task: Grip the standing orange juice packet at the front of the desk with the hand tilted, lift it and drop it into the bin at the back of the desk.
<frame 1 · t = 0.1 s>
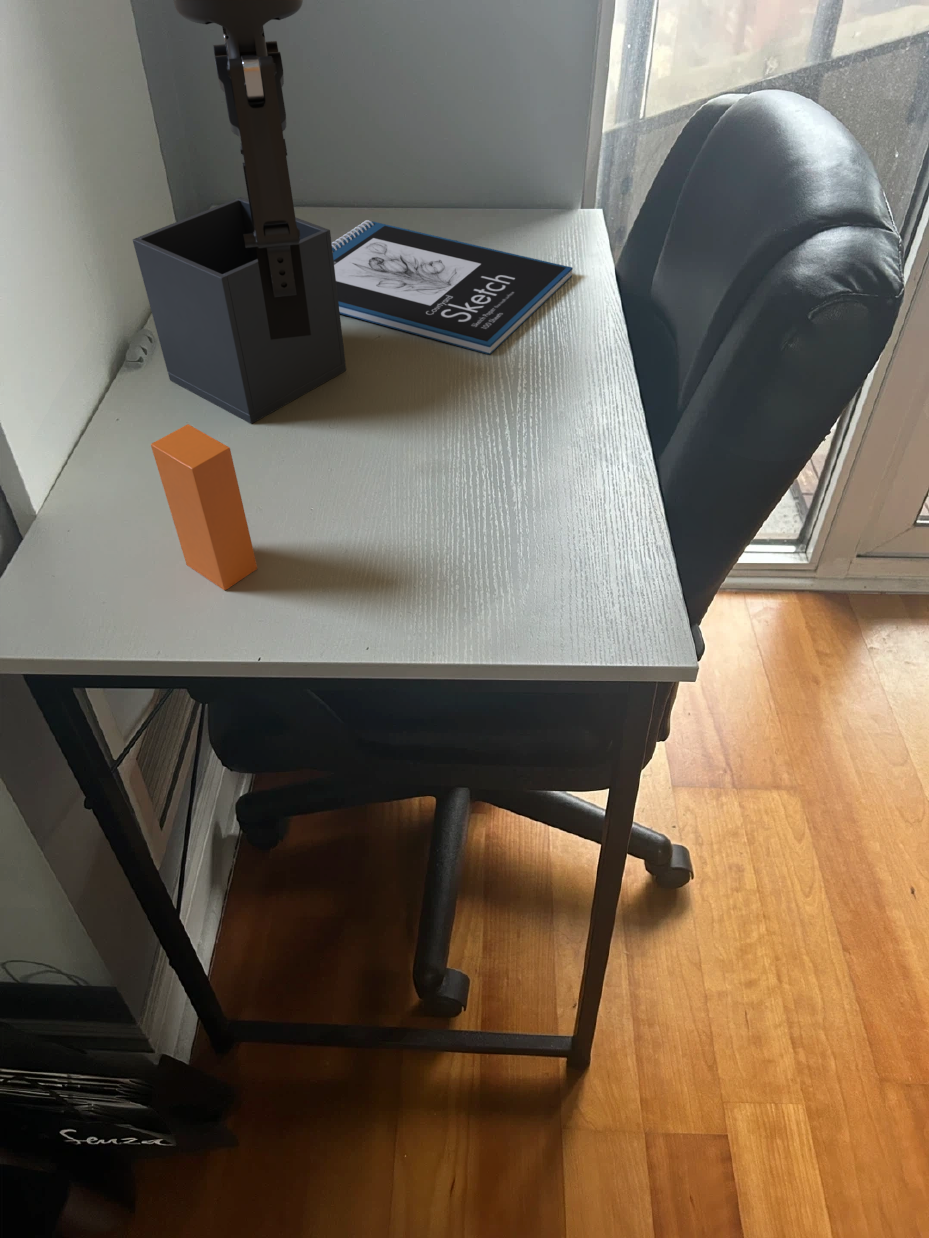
hand: (282, 290, 68), 21 cm above the table, tool pointing down, fingers open, 13 cm apart
bin: (258, 375, 100), on the table
sketchbook: (422, 288, 114), on the table
packet: (221, 567, 78), on the table
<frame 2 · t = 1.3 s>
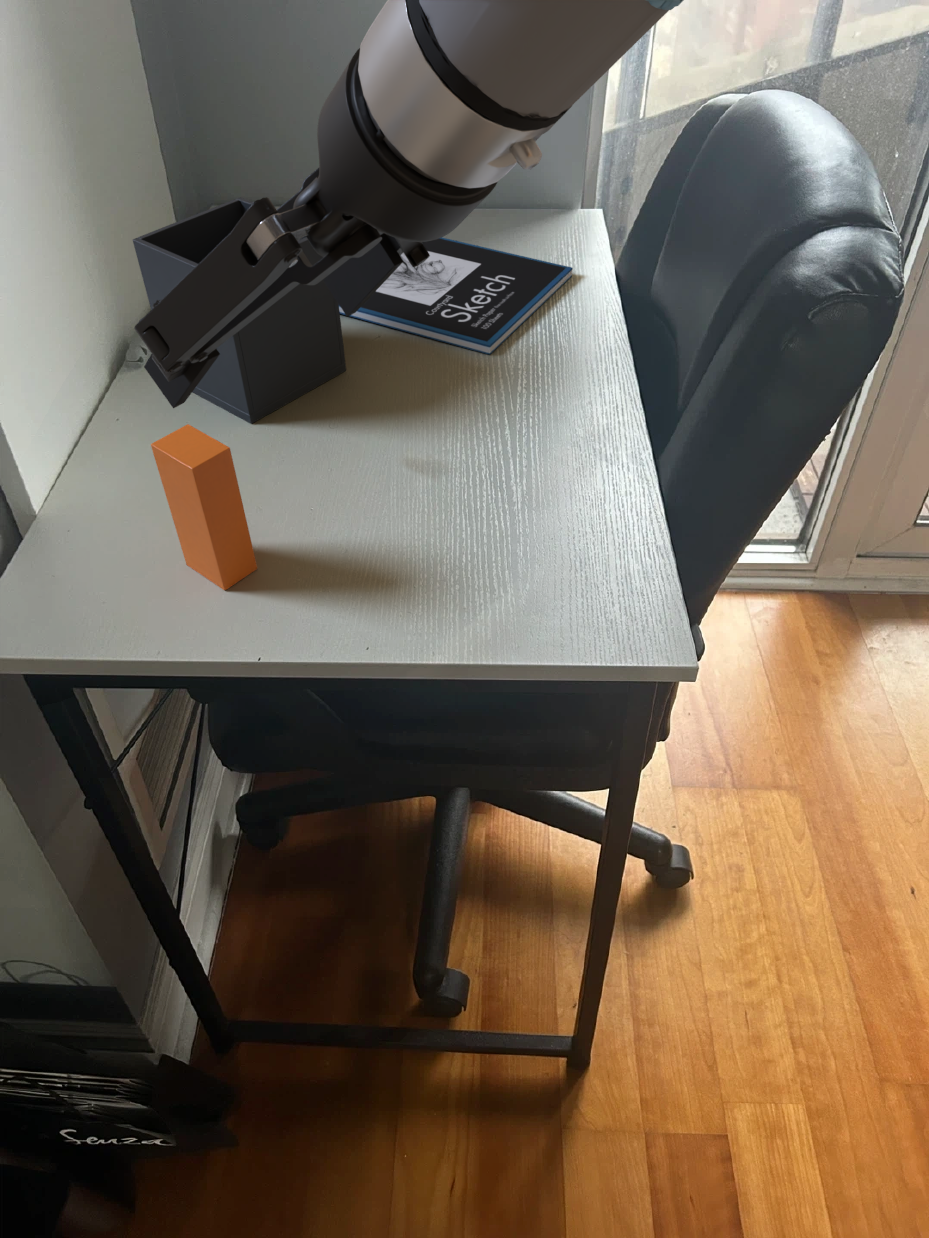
hand: (257, 338, 56), 24 cm above the table, tool tilted 45°, fingers open, 13 cm apart
nothing on the table moved.
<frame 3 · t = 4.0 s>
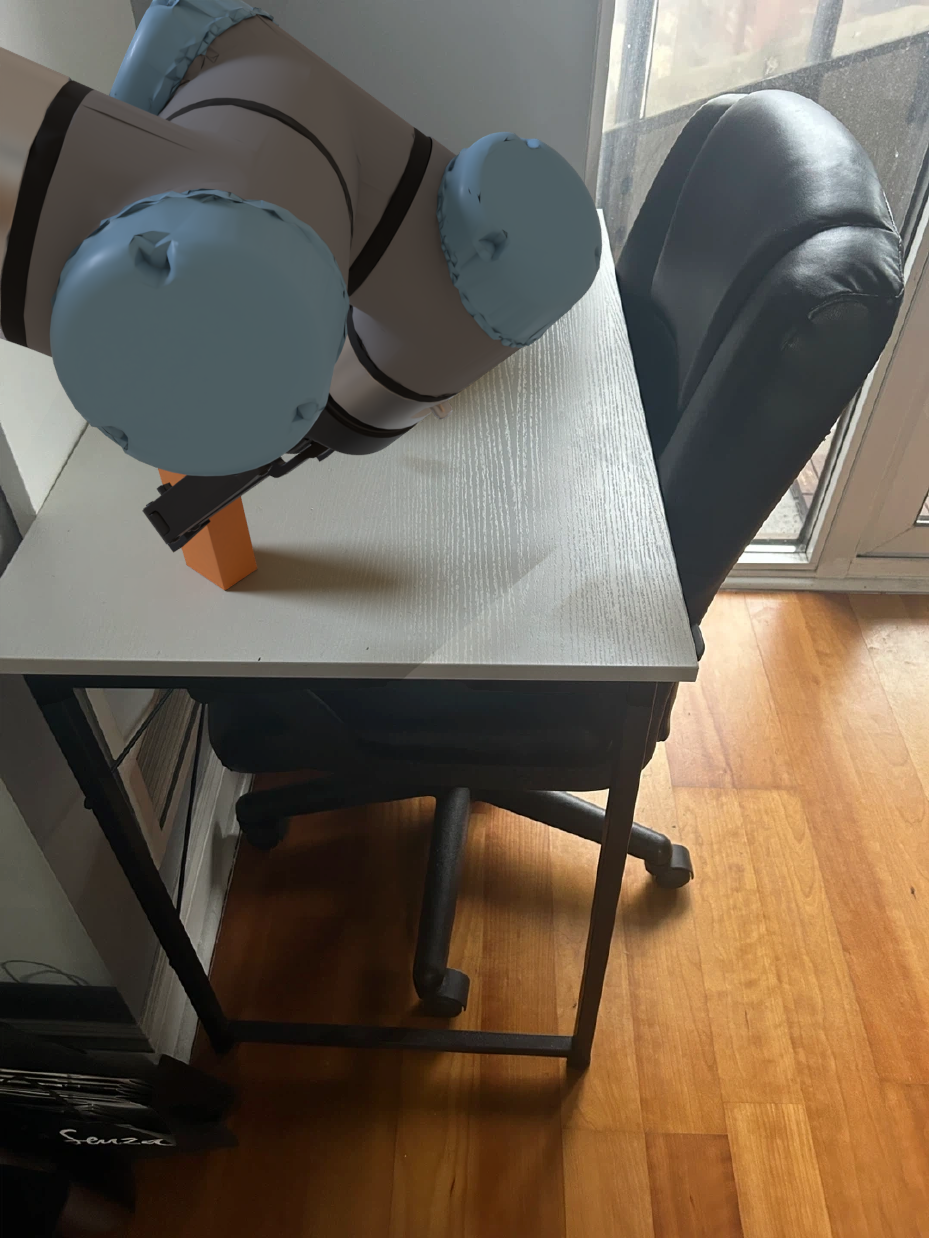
hand: (243, 487, 68), 11 cm above the table, tool tilted 45°, fingers open, 13 cm apart
nothing on the table moved.
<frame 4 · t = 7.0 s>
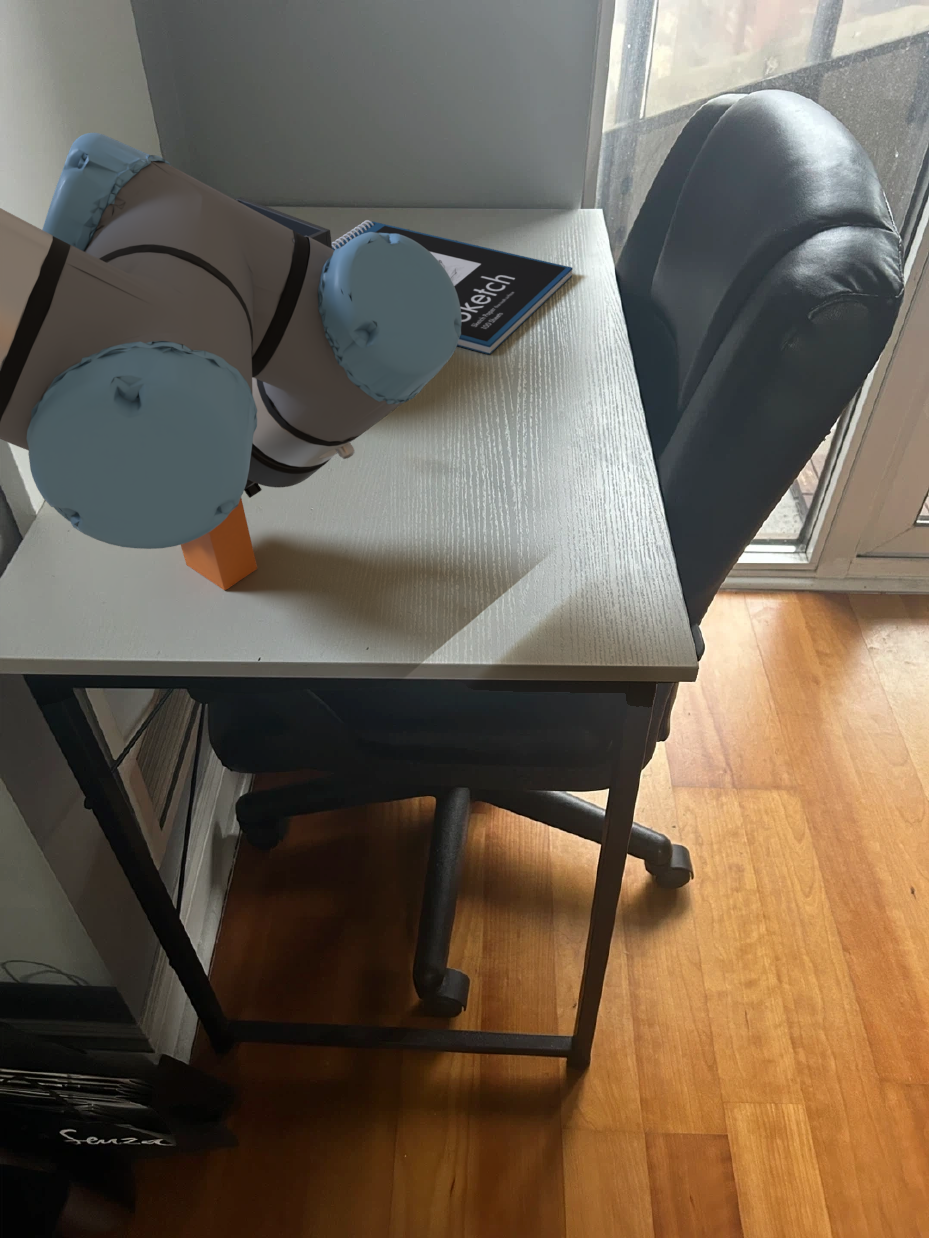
hand: (184, 516, 77), 3 cm above the table, tool tilted 45°, fingers closed on packet, 3 cm apart
packet: (221, 567, 78), on the table, touching gripper
everything else where it was.
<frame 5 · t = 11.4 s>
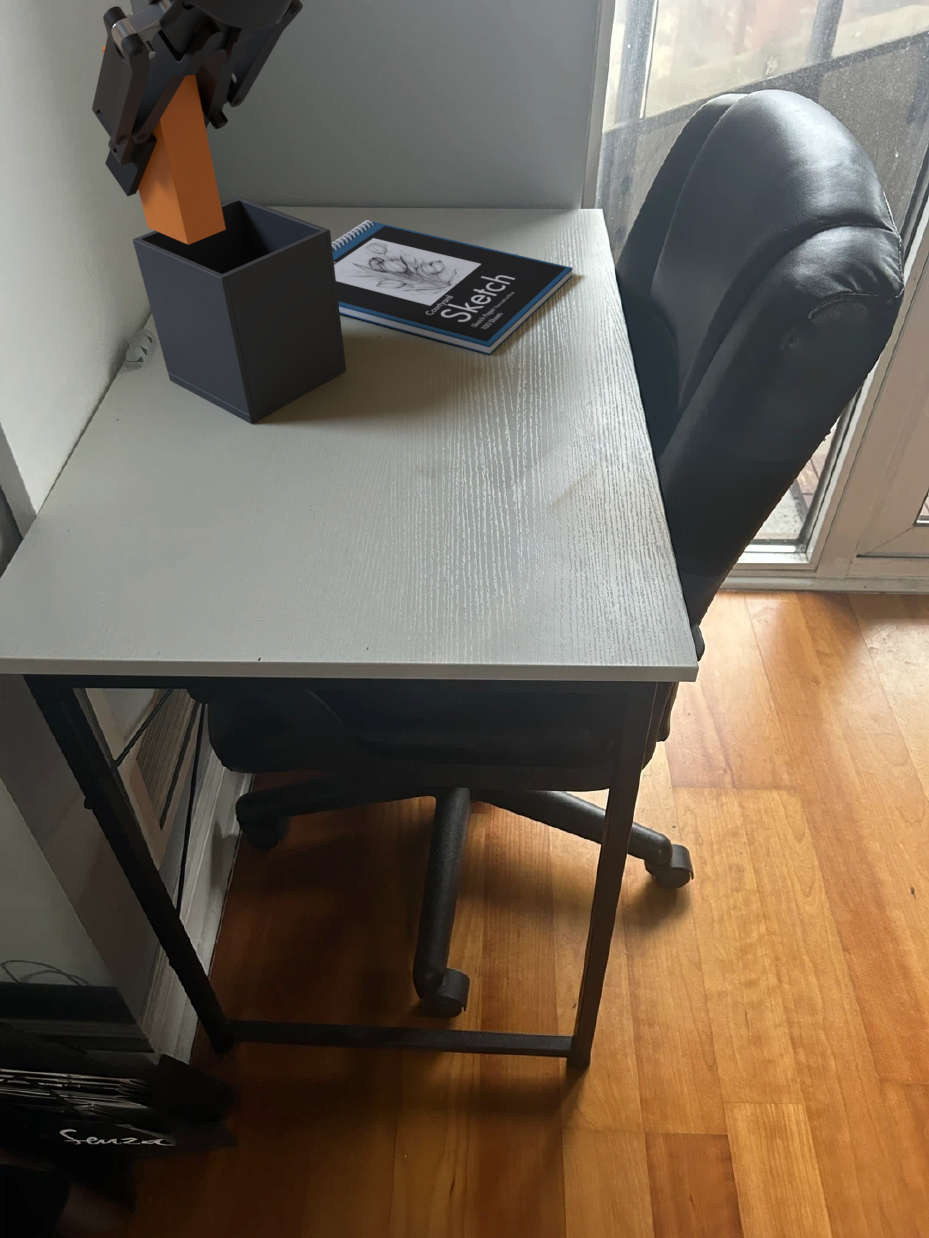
hand: (144, 170, 70), 26 cm above the table, tool tilted 45°, fingers closed on packet, 3 cm apart
packet: (186, 228, 71), point 23 cm above the table, touching gripper
everything else where it was.
when the fingers open (17 cm above the table, at t = 16.2 s): packet drops 13 cm, resting on bin.
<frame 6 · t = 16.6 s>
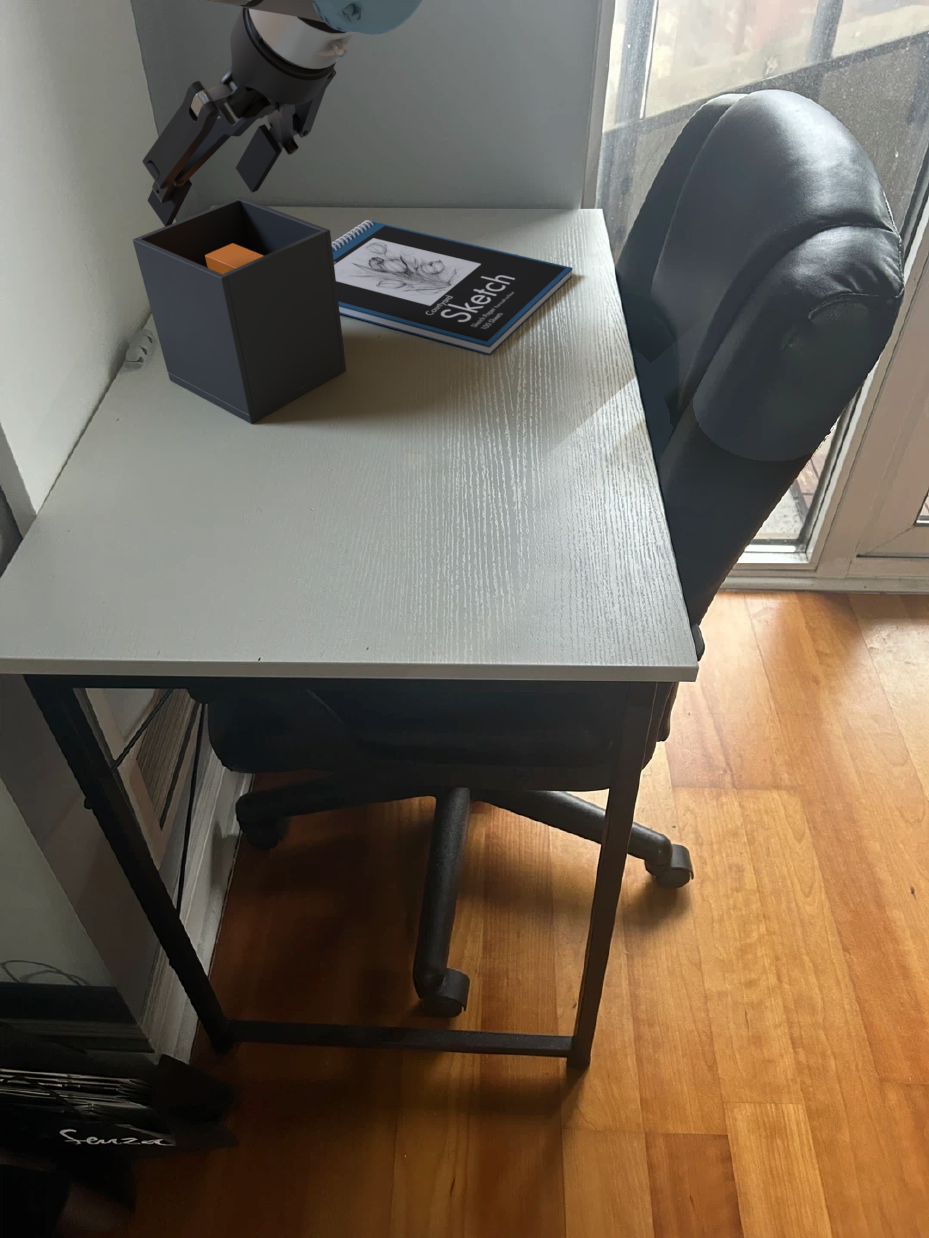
hand: (204, 195, 89), 18 cm above the table, tool tilted 45°, fingers open, 10 cm apart
packet: (257, 367, 99), point 1 cm above the table, touching bin
everything else where it was.
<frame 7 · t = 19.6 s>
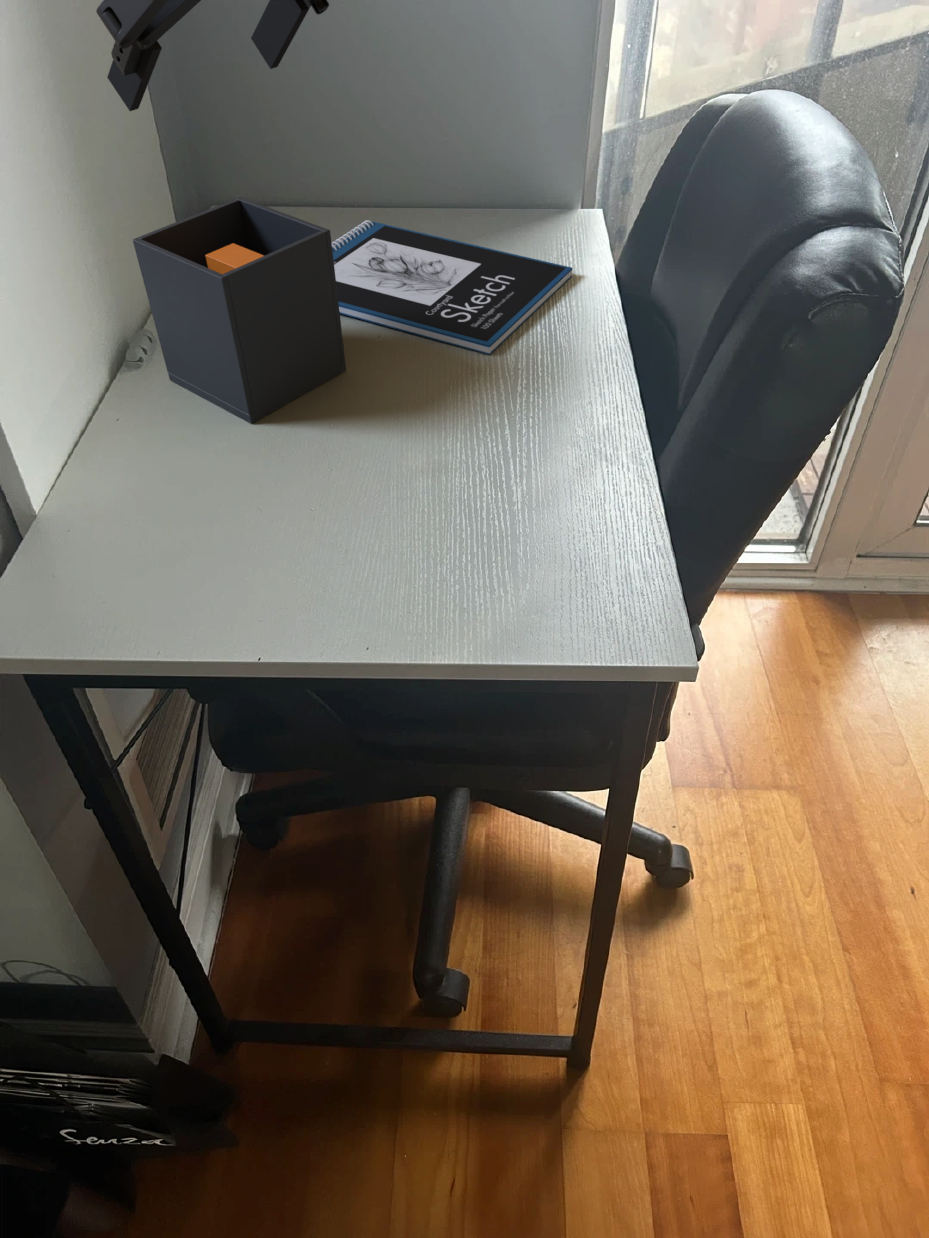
hand: (196, 72, 72), 31 cm above the table, tool tilted 45°, fingers open, 13 cm apart
nothing on the table moved.
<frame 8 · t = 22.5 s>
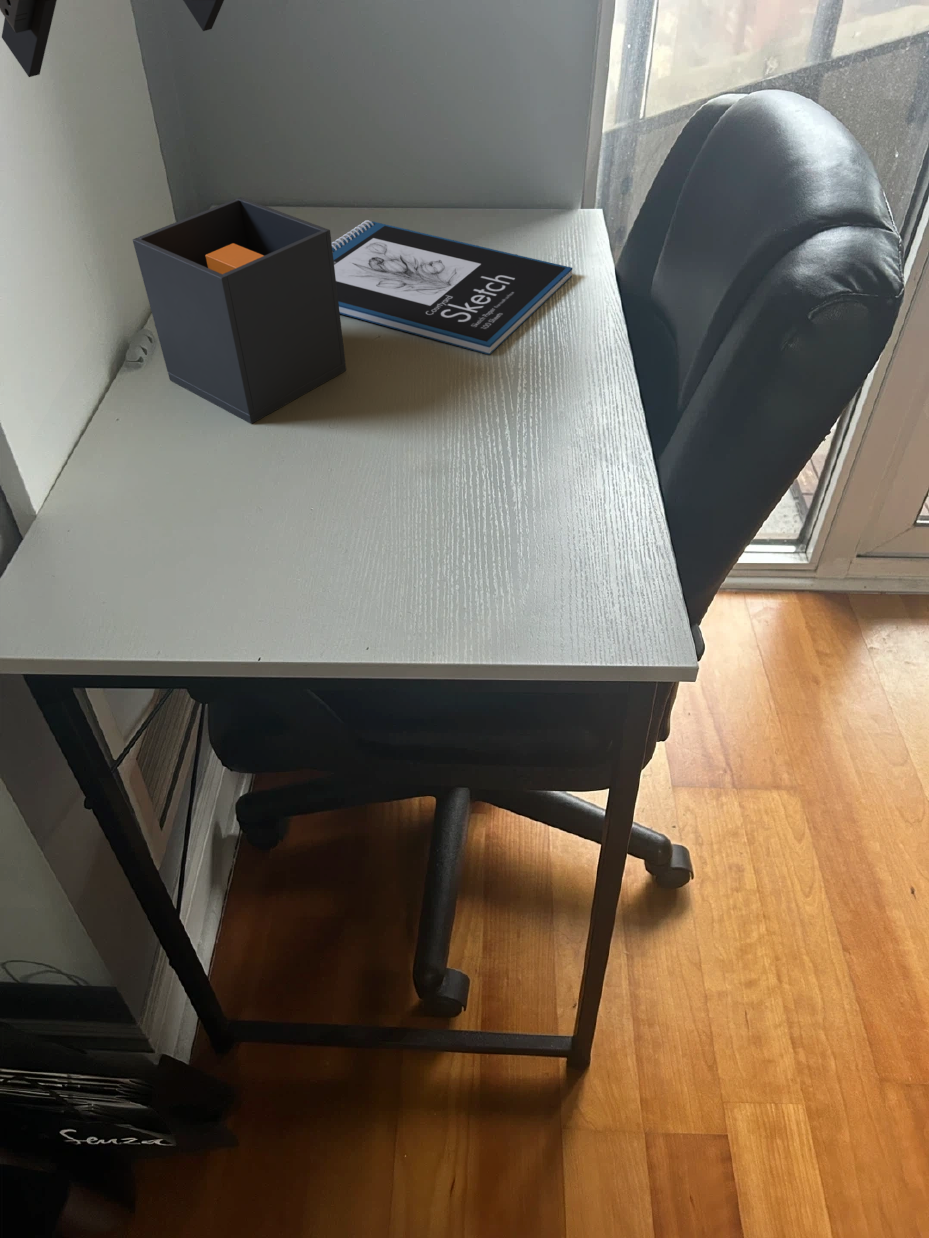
hand: (113, 33, 62), 36 cm above the table, tool tilted 45°, fingers open, 13 cm apart
nothing on the table moved.
at the end: packet inside the target area in the bin (0.1 cm from its centre), point 1.0 cm above the bin's base; the gripper is holding nothing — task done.
